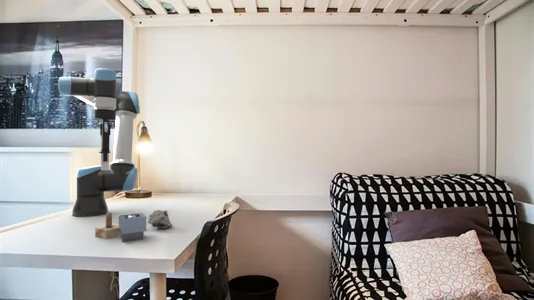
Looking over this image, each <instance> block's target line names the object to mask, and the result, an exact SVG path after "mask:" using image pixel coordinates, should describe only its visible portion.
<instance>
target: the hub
mask: <svg viewBox="0 0 534 300" xmlns="http://www.w3.org/2000/svg"><path fill="white" fill-rule="evenodd" d="M132 217H136V215H130V216H128V218H132ZM144 232H145V231H143V232H135V233H127V234H121V235H120V239H121V243H125V242H126V243H128V242H133V241H142V240H144V235H145V234H144Z"/></svg>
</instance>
